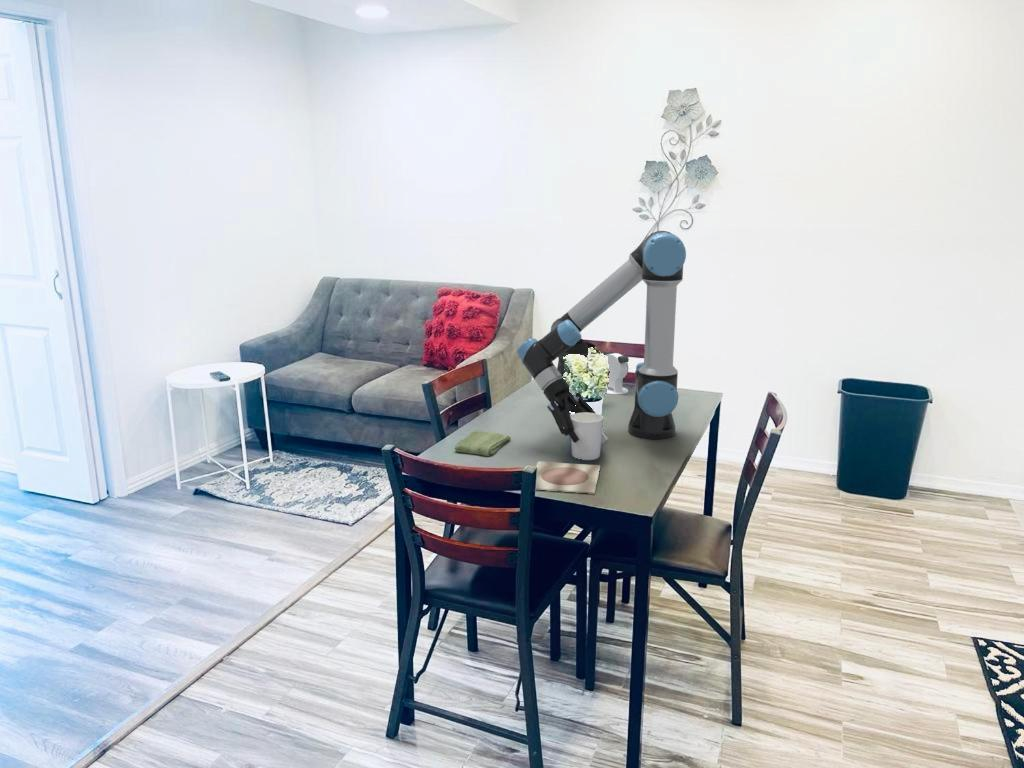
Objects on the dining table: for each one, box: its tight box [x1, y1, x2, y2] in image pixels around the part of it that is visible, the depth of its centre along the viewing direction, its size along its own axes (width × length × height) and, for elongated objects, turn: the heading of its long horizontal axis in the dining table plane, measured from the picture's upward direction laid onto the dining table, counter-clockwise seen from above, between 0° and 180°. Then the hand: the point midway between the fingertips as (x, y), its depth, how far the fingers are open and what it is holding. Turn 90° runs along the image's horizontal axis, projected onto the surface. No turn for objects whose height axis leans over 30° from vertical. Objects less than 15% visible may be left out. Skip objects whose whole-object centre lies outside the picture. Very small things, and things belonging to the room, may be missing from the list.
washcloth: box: [454, 429, 511, 457], centre depth 234 cm, size 13×18×3 cm
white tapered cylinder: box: [570, 412, 605, 461], centre depth 224 cm, size 10×10×12 cm
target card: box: [535, 461, 601, 495], centre depth 208 cm, size 18×20×1 cm
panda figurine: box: [603, 350, 630, 396], centre depth 294 cm, size 12×11×15 cm
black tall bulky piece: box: [549, 338, 601, 404], centre depth 272 cm, size 16×19×25 cm
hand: (595, 445), depth 222 cm, fingers closed on white tapered cylinder, 9 cm apart
